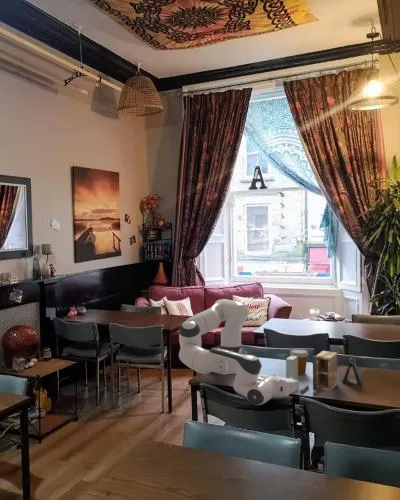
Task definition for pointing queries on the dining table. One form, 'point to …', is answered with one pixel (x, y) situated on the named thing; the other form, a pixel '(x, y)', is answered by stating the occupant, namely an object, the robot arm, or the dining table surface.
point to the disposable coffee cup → (300, 359)
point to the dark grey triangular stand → (357, 375)
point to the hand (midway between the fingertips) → (282, 377)
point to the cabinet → (324, 372)
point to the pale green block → (292, 367)
